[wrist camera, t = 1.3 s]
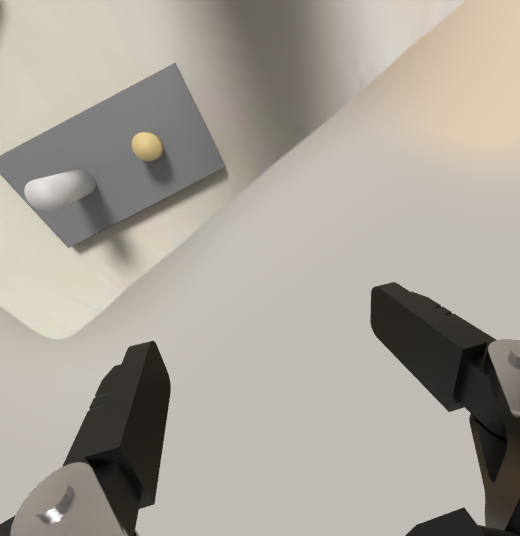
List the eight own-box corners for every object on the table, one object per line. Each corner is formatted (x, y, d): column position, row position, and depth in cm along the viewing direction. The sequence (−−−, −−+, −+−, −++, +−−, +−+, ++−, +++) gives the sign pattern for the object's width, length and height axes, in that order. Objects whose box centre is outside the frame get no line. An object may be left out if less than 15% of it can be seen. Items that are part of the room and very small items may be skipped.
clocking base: (-3, 160, 21) (-90, 170, 14) (176, 66, 20) (164, 33, 14) (73, 244, 24) (29, 279, 18) (224, 165, 24) (232, 174, 18)
